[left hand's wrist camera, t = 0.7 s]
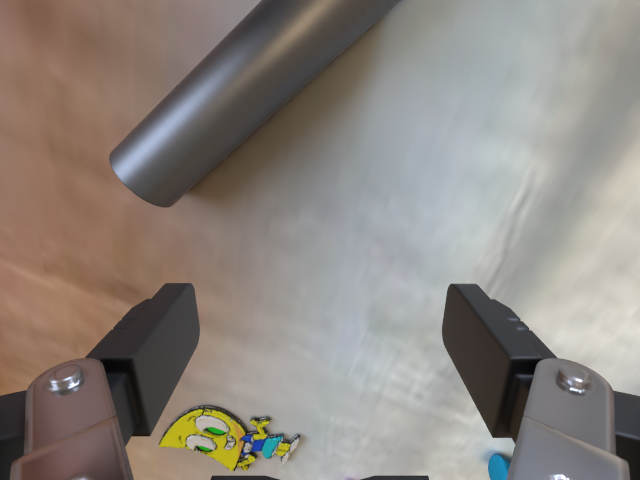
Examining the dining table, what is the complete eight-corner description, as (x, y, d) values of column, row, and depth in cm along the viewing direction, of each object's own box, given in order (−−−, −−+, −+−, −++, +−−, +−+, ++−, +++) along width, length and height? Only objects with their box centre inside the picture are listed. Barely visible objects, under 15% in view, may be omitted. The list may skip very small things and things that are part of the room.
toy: (268, 490, 45) (155, 450, 43) (269, 483, 45) (158, 444, 43) (303, 437, 42) (183, 391, 39) (303, 431, 42) (185, 385, 40)
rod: (184, 198, 33) (155, 215, 27) (135, 146, 32) (92, 153, 26) (414, -8, 27) (438, -40, 22) (367, -83, 26) (379, -140, 20)
